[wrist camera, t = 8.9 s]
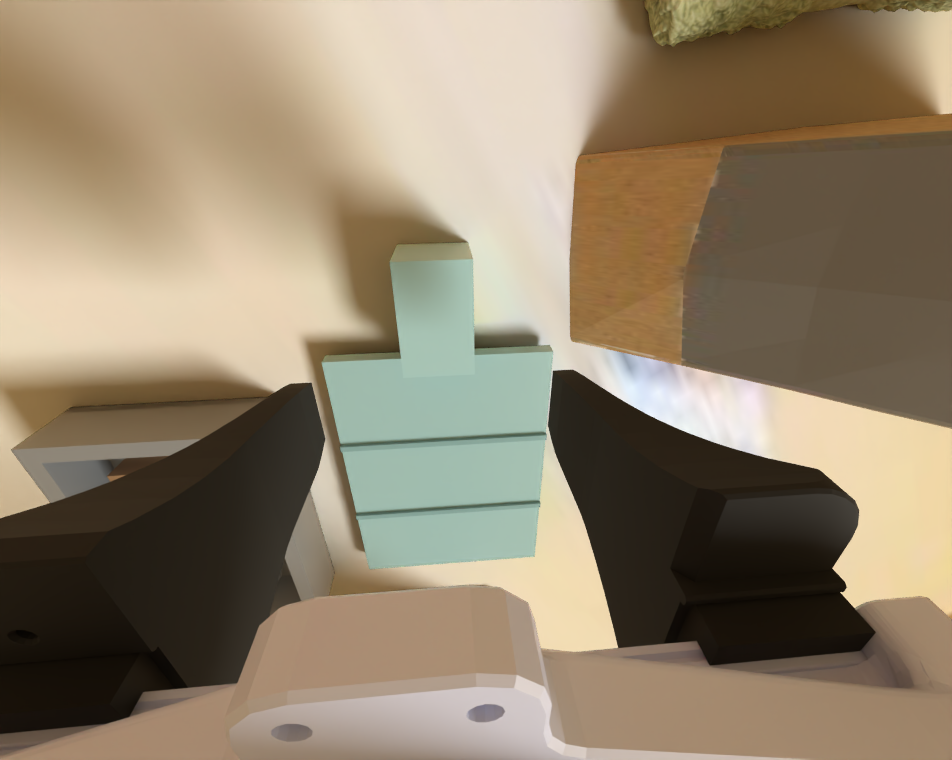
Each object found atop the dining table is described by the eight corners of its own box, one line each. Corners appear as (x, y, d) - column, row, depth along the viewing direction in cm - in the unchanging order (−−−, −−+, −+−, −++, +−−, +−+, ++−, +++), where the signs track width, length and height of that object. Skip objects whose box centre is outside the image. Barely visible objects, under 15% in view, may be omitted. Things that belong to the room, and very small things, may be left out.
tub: (334, 572, 27) (322, 621, 24) (179, 584, 27) (149, 635, 24) (282, 396, 20) (257, 435, 18) (71, 407, 20) (10, 449, 17)
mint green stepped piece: (530, 540, 27) (540, 582, 25) (371, 552, 27) (364, 596, 24) (555, 239, 18) (575, 255, 15) (305, 247, 17) (280, 265, 14)
